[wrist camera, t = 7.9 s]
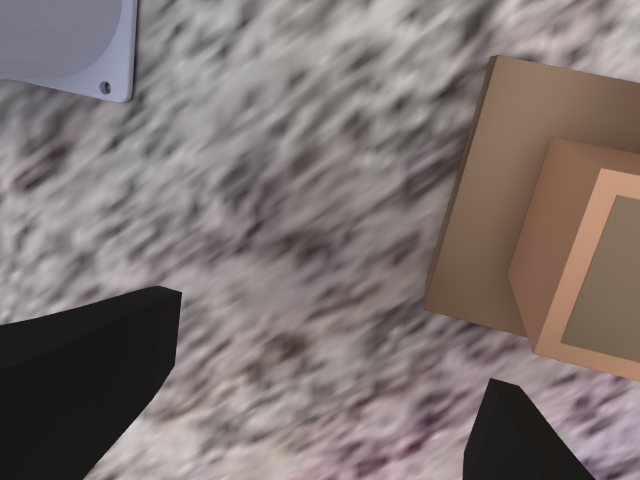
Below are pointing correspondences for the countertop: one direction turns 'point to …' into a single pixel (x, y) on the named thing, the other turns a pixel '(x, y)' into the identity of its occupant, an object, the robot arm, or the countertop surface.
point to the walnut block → (516, 177)
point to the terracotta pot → (582, 259)
